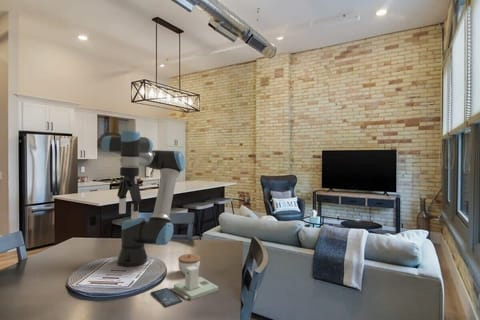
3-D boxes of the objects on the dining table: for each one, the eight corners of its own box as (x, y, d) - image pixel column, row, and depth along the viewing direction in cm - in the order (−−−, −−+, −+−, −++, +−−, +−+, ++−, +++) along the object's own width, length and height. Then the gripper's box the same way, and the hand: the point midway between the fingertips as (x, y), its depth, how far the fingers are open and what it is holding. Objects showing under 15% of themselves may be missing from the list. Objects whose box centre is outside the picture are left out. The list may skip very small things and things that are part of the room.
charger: (184, 290, 127) (185, 267, 127) (192, 287, 130) (193, 265, 130) (189, 293, 125) (190, 270, 124) (197, 291, 127) (198, 268, 127)
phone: (150, 295, 124) (150, 291, 123) (166, 290, 128) (166, 287, 128) (166, 309, 113) (166, 305, 113) (182, 303, 118) (182, 300, 117)
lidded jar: (178, 278, 140) (179, 258, 140) (177, 269, 150) (177, 251, 150) (201, 276, 143) (201, 257, 143) (198, 268, 153) (198, 250, 153)
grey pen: (167, 289, 128) (167, 287, 128) (169, 288, 129) (169, 286, 129) (186, 299, 119) (186, 297, 119) (188, 298, 120) (188, 296, 120)
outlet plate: (174, 287, 130) (174, 284, 130) (200, 279, 139) (200, 276, 139) (191, 300, 119) (191, 296, 119) (218, 290, 129) (218, 286, 129)
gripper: (110, 165, 132) (109, 212, 133) (132, 168, 114) (131, 222, 114) (127, 165, 137) (125, 210, 138) (151, 168, 119) (149, 220, 119)
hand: (128, 216), depth 126 cm, fingers open, 13 cm apart
